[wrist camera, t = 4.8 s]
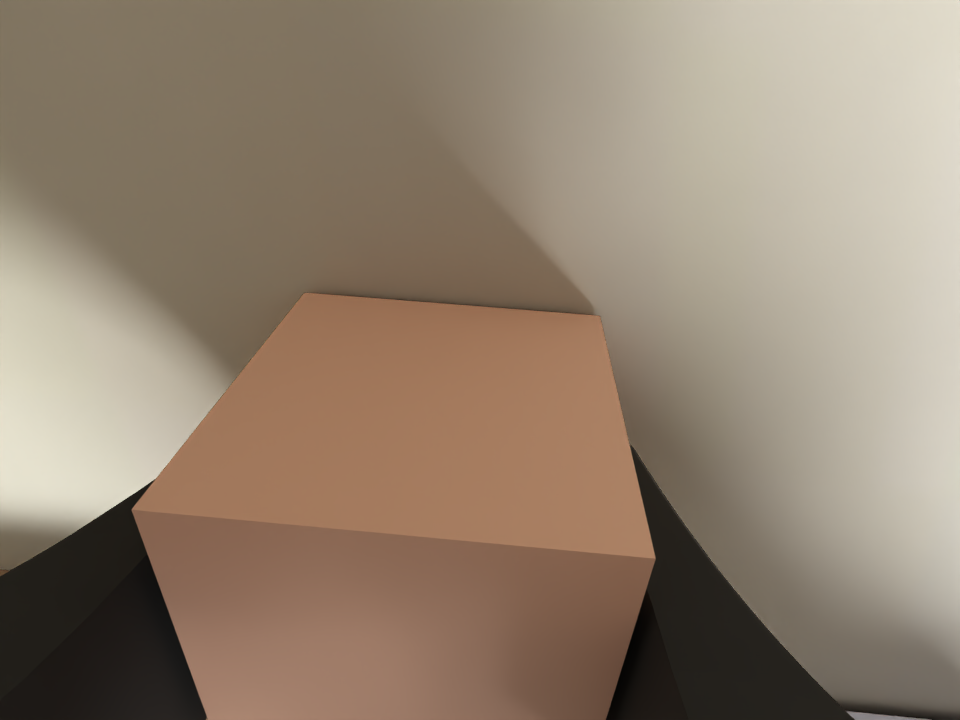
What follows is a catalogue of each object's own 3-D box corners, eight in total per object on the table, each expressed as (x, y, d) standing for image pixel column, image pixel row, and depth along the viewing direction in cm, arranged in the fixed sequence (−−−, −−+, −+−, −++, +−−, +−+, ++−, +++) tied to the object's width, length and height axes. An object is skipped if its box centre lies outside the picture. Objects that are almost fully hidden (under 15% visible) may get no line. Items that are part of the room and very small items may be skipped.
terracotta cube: (599, 316, 10) (655, 558, 5) (562, 526, 12) (580, 803, 8) (304, 292, 10) (132, 509, 6) (329, 505, 12) (224, 764, 8)
